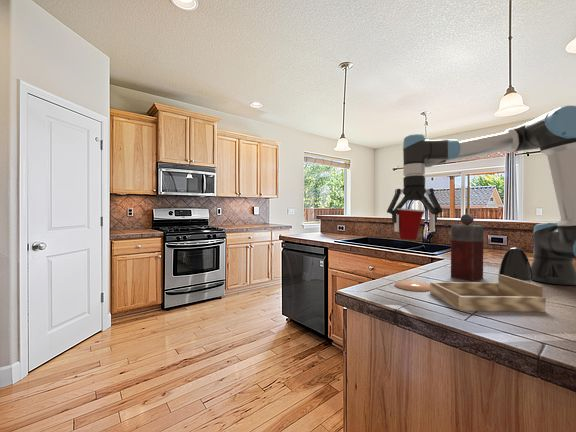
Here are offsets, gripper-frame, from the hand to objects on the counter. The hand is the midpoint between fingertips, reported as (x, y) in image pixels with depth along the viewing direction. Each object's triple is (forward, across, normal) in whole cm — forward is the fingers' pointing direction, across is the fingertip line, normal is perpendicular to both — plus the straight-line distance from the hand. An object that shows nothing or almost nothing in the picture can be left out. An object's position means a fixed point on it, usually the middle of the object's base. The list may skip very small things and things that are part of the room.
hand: (414, 231), depth 108 cm
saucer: (+21, 0, 0) cm, 21 cm away
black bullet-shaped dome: (+22, -40, -2) cm, 45 cm away
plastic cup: (+3, +2, 0) cm, 4 cm away
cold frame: (+21, -14, +18) cm, 31 cm away
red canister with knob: (+22, -28, -13) cm, 38 cm away
